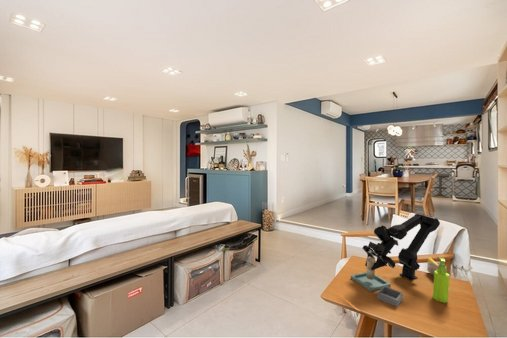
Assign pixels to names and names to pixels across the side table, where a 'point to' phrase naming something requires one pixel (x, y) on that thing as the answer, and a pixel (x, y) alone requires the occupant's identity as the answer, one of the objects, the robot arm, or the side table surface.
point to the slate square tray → (390, 296)
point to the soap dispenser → (441, 282)
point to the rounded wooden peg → (370, 272)
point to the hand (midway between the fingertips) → (368, 267)
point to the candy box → (432, 266)
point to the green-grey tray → (370, 281)
